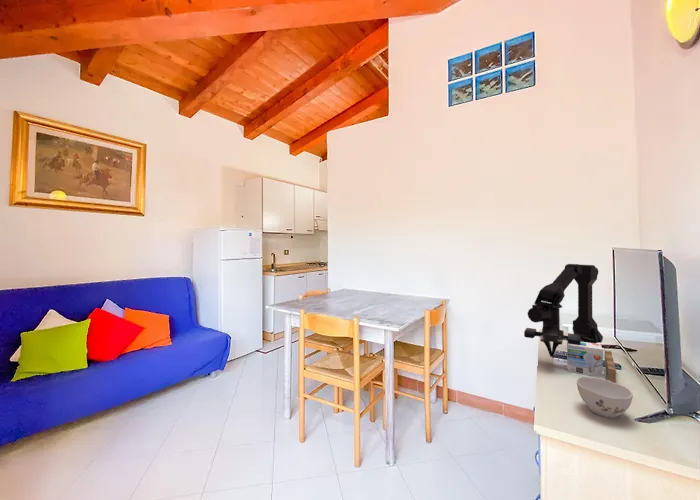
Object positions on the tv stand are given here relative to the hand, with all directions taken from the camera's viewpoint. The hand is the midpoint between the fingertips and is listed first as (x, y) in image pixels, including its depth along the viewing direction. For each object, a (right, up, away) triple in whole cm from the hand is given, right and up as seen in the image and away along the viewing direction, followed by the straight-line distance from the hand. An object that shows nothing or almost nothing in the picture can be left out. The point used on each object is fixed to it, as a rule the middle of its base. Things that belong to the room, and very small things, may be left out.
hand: (551, 356), depth 118 cm
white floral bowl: (-7, -4, -32) cm, 33 cm away
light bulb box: (+8, -3, -7) cm, 11 cm away
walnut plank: (+14, -3, -11) cm, 18 cm away
